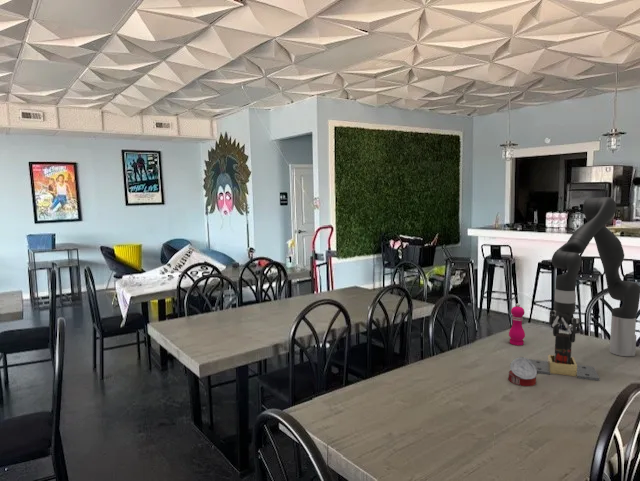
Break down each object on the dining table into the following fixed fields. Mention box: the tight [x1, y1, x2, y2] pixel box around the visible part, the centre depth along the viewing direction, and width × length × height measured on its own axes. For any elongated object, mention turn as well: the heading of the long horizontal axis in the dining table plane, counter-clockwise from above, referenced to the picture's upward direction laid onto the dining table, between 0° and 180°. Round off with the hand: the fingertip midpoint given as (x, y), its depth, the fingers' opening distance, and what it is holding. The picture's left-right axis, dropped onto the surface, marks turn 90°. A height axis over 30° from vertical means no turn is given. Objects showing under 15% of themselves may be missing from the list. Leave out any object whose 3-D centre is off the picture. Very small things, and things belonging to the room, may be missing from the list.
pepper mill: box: [508, 303, 526, 347], centre depth 221 cm, size 7×7×20 cm
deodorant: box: [554, 332, 573, 364], centre depth 188 cm, size 6×6×15 cm
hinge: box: [528, 354, 600, 382], centre depth 188 cm, size 25×13×4 cm, turn 68°
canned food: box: [508, 356, 538, 387], centre depth 178 cm, size 11×10×10 cm
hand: (563, 339), depth 187 cm, fingers open, 8 cm apart
